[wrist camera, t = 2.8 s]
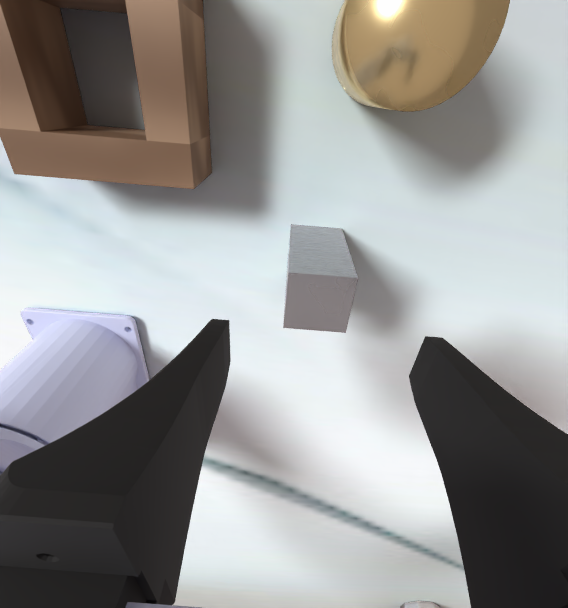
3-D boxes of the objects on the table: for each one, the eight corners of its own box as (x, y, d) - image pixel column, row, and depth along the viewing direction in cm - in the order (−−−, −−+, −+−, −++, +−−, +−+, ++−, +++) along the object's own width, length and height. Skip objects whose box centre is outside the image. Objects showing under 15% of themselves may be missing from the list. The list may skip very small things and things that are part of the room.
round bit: (423, 111, 15) (471, 117, 11) (324, 102, 15) (334, 105, 11) (462, -31, 12) (545, -95, 8) (341, -42, 12) (364, -111, 8)
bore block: (211, 172, 17) (193, 189, 14) (63, 160, 17) (14, 174, 14) (200, -40, 13) (170, -81, 10) (-1, -58, 12) (-92, -105, 10)
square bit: (333, 273, 20) (345, 332, 15) (286, 270, 20) (283, 327, 15) (341, 228, 18) (358, 278, 13) (290, 224, 18) (288, 272, 13)
